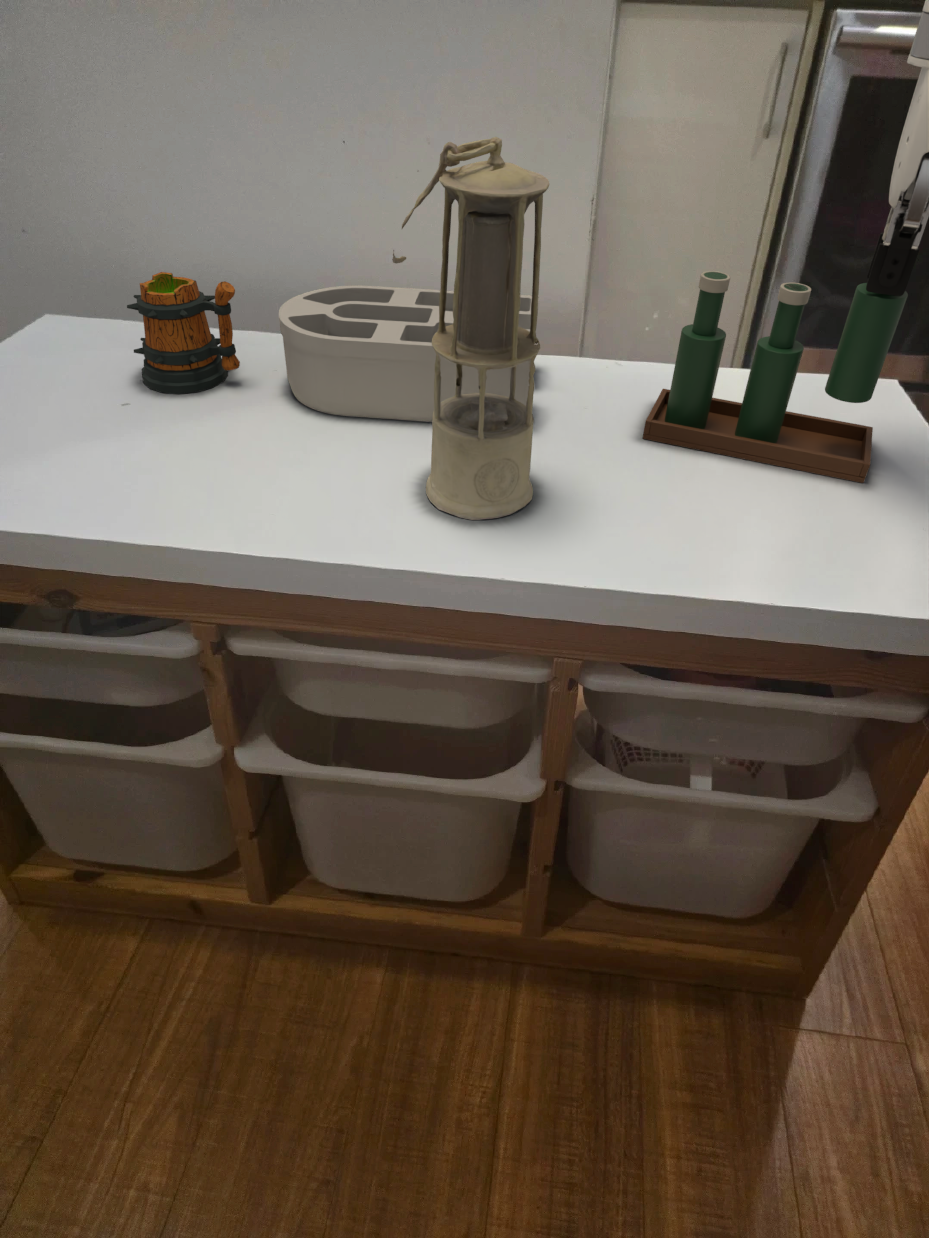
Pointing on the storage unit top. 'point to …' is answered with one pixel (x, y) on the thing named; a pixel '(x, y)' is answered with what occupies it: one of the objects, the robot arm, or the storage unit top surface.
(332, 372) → the grey compartment organizer
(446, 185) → the lamp
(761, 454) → the tray
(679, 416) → the bottle end
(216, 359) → the mug
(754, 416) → the bottle mid
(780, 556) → the storage unit top surface
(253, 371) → the storage unit top surface
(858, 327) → the bottle
